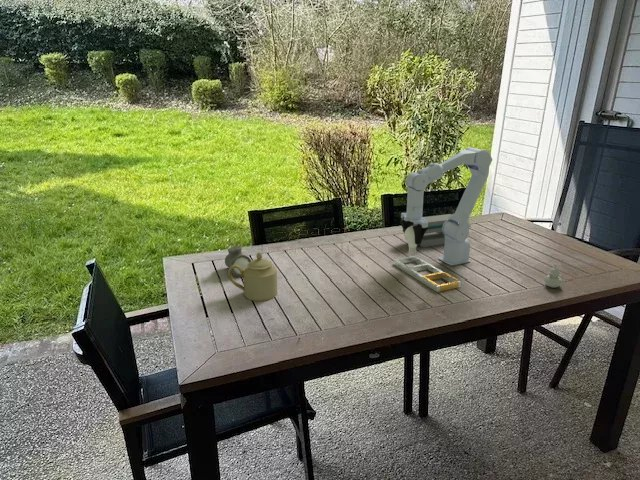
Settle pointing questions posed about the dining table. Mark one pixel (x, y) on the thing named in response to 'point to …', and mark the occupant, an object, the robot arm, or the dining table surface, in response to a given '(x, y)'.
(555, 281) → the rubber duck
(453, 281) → the rack
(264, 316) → the dining table surface
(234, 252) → the pipe fitting
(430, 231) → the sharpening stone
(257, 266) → the sugar bowl
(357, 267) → the dining table surface
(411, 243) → the lightbulb
